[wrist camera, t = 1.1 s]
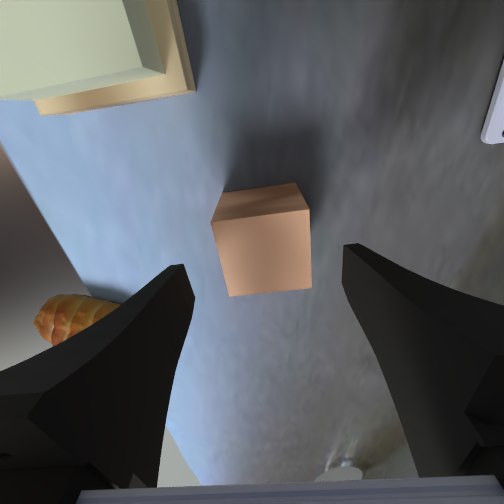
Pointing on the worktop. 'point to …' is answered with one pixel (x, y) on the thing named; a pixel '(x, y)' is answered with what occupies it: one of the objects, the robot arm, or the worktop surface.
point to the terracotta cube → (263, 239)
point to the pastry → (70, 315)
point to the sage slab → (74, 46)
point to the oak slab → (173, 83)
